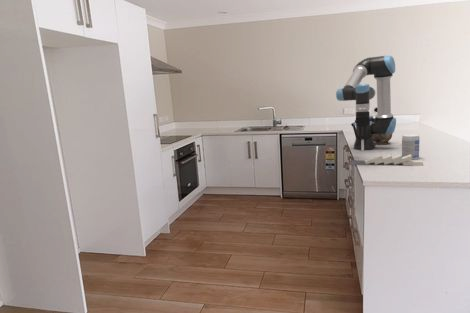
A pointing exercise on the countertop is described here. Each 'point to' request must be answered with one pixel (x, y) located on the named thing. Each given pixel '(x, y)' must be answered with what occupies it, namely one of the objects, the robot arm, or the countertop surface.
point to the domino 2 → (384, 159)
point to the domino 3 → (393, 159)
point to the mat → (362, 162)
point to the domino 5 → (413, 162)
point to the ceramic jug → (381, 136)
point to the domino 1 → (374, 159)
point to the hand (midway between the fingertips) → (362, 150)
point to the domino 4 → (403, 159)
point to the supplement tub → (410, 146)
